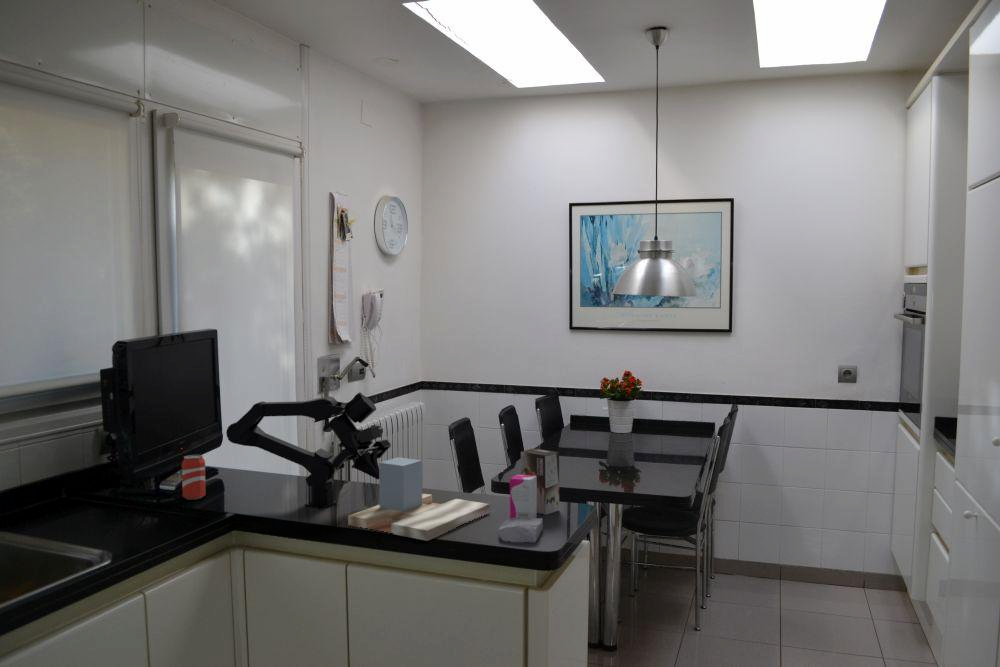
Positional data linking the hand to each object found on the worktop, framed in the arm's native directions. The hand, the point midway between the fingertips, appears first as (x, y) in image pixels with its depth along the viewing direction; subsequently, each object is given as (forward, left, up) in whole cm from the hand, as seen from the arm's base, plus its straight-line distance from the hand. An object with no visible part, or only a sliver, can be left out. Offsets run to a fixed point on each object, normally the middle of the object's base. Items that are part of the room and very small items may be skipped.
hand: (379, 478), depth 216 cm
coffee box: (+36, +24, -9) cm, 44 cm away
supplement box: (+37, +13, -9) cm, 41 cm away
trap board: (+14, 0, -9) cm, 17 cm away
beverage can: (-56, -16, -9) cm, 59 cm away
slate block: (+7, 0, -7) cm, 10 cm away
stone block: (+43, +1, -10) cm, 44 cm away
